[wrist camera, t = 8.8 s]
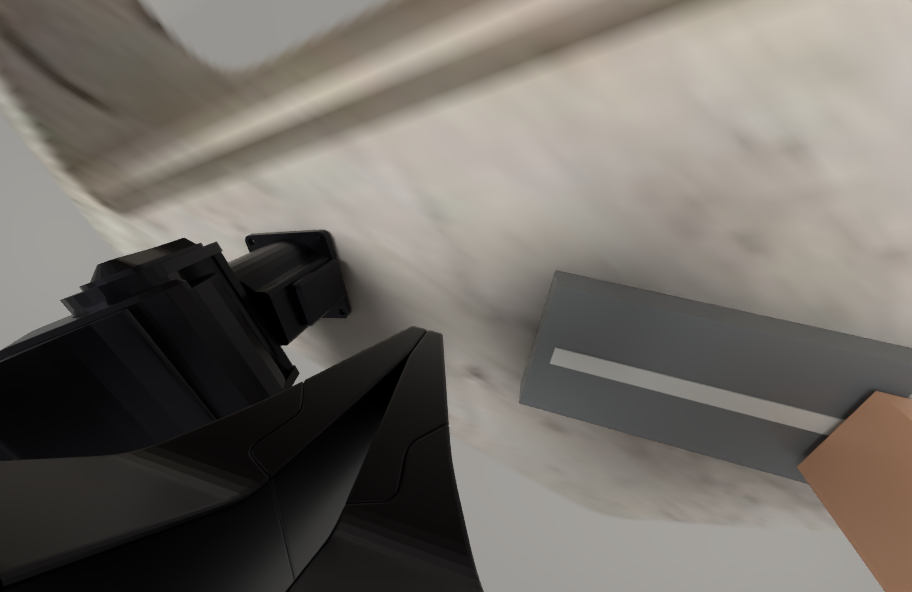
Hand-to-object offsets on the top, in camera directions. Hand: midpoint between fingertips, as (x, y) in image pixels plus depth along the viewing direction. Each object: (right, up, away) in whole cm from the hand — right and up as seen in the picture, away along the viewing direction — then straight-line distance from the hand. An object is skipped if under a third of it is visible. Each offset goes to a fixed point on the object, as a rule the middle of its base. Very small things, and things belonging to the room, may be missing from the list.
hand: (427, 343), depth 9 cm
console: (+17, -4, +11) cm, 20 cm away
